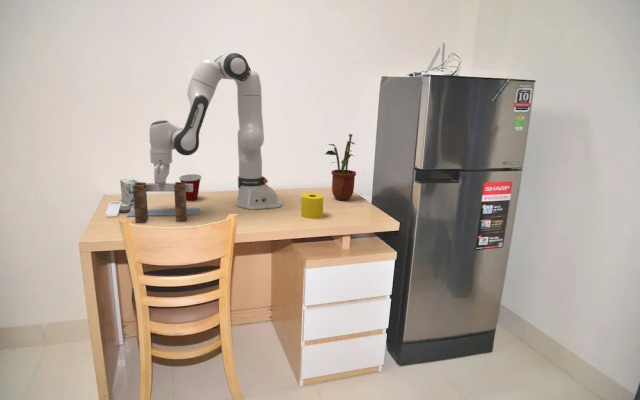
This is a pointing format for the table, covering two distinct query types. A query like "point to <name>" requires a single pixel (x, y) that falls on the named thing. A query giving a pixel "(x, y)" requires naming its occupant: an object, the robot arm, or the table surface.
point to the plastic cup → (195, 181)
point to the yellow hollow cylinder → (312, 205)
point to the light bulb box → (127, 190)
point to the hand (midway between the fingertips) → (162, 189)
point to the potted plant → (343, 175)
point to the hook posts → (141, 202)
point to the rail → (167, 187)
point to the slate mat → (165, 212)
